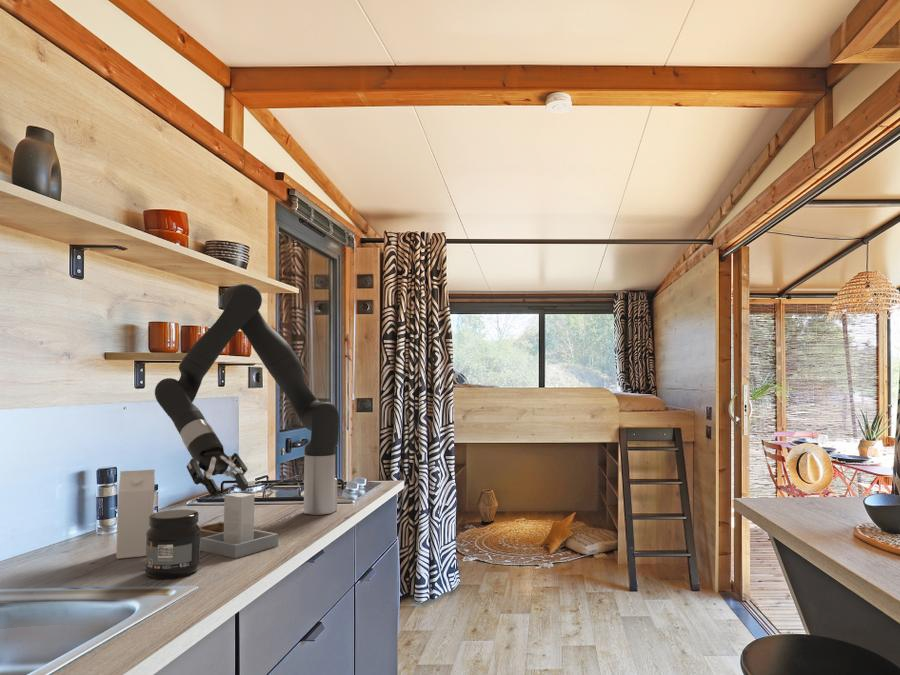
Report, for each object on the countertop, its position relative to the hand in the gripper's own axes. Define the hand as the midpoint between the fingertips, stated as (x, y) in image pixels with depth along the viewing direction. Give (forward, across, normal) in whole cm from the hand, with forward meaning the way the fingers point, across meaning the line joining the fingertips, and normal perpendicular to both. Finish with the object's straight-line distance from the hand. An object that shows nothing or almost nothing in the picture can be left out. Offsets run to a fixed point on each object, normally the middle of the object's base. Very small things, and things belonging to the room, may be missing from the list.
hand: (231, 491), depth 153 cm
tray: (+12, 0, +7) cm, 13 cm away
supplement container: (+14, -20, +4) cm, 25 cm away
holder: (+3, +4, +16) cm, 16 cm away
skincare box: (+11, 0, +6) cm, 13 cm away
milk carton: (0, -16, +18) cm, 25 cm away
